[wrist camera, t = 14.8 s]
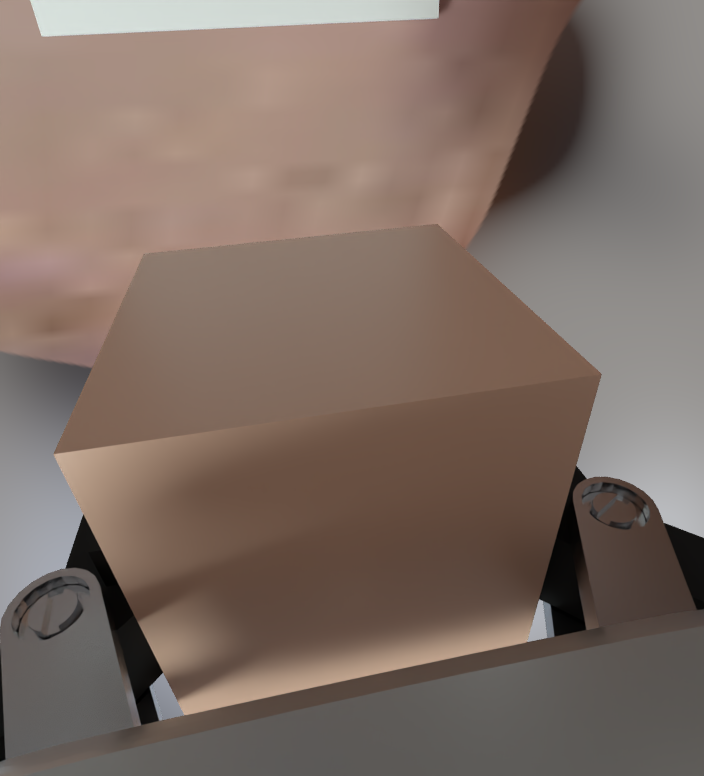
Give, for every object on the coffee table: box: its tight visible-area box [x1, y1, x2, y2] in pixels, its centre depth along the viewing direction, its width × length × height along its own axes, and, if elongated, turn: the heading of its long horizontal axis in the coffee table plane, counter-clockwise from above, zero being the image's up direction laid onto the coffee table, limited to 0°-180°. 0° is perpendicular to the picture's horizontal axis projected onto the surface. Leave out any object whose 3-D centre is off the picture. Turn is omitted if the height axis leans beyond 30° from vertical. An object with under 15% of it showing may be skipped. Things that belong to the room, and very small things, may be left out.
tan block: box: [54, 224, 601, 715], centre depth 10 cm, size 8×6×6 cm
